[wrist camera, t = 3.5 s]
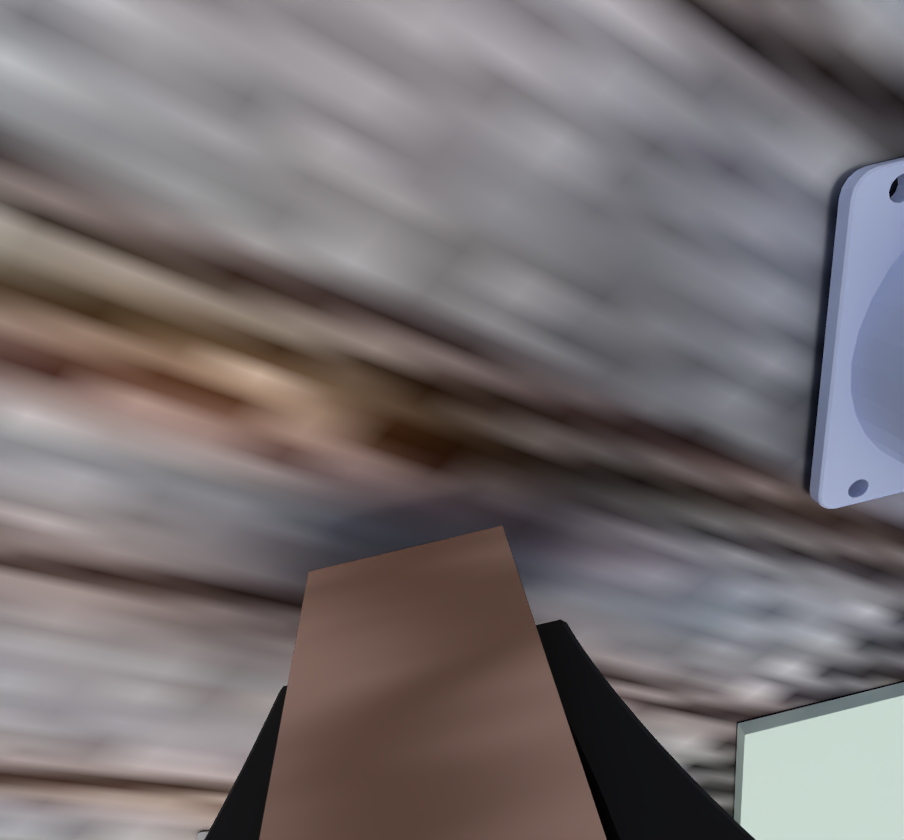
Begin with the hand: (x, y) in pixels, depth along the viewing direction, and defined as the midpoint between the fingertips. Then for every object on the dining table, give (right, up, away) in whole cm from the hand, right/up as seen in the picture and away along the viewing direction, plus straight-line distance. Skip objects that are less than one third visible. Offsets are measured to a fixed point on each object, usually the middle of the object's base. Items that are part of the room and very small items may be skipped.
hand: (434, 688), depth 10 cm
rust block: (0, +1, +2) cm, 2 cm away
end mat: (+16, -12, +12) cm, 23 cm away
